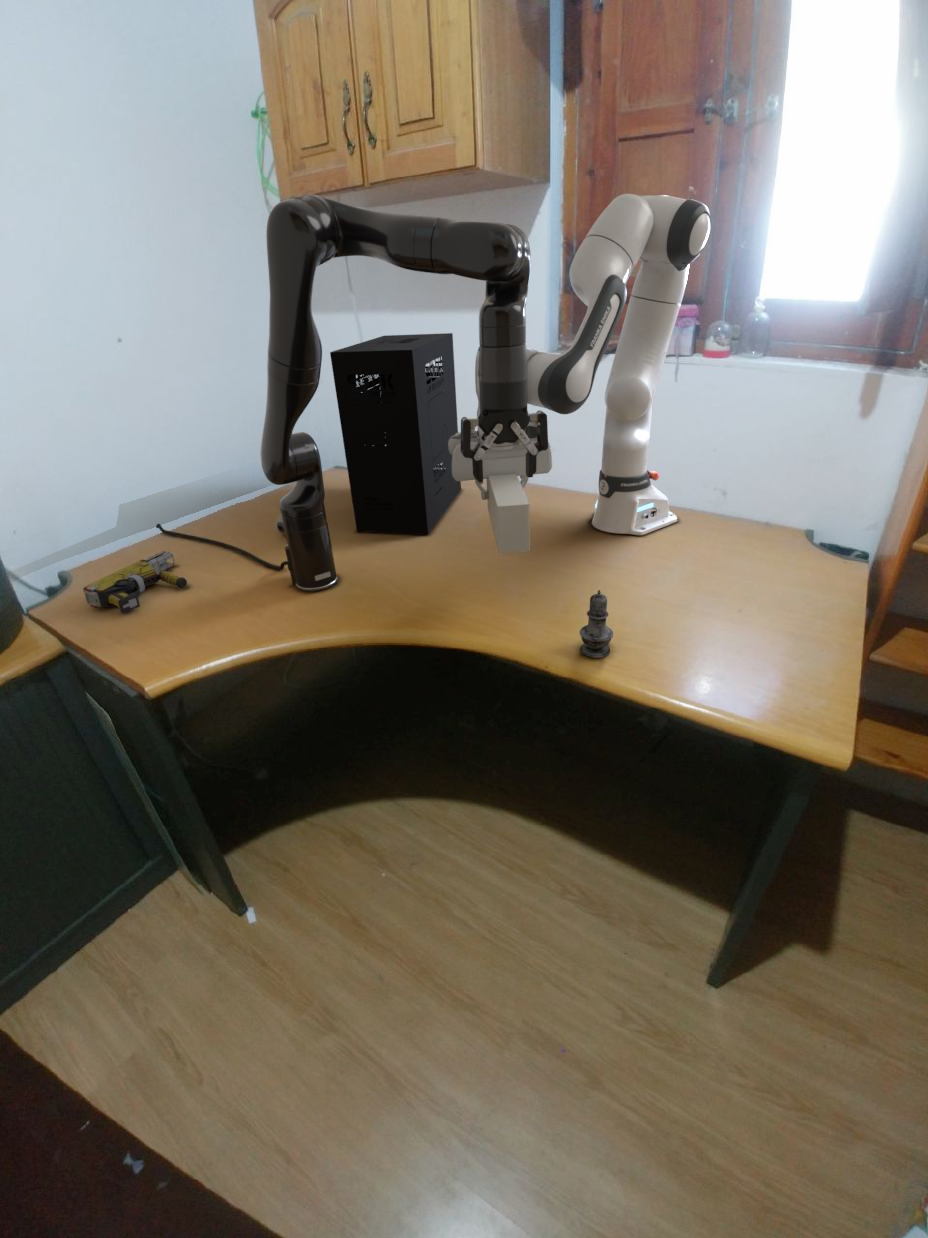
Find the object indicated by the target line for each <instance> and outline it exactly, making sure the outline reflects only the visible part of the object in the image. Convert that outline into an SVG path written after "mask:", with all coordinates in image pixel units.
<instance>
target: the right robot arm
mask: <svg viewBox="0 0 928 1238" xmlns="http://www.w3.org/2000/svg"><path fill="white" fill-rule="evenodd" d="M711 216H712V215H711V213H710V210H709V208H708V206H707V205H706V204H704V203H702V202H701V201H698V200H695V199H692V198H690V199H689V198H688V199H685V198H681V197H677V196H671V195H666V194H659V195H649V194H648V195H646V194H645V195H637V194H634V193H623V194H620V195H618V196H616V197H615V198H613V200H611V202H610V203H609V204H608V205H607V206H606V207H605V209H603V211H602V212H601V213H600V215H599V216H598V217H597V219H596V220H595V222H594V223H593V224H592V225H591V227H590V229H588V232H587V233H586V234H585V237H584V238H583V240H582V242H581V244H580V245H579V248H578V249H577V251H576V252H575V254H574V256H573V258H572V261H571V264H570V268H569V280H570V286H571V288H572V290H573V292H574V293H575V295H576V296H577V297H578V299H579V300H580V301H581V302H582V303H583V304H584V305H585V306H587V309H586V312H585V315H584V317H583V319H582V322H581V324H580V326H579V328H578V330H577V333H576V335H575V337H574V339H573V342H572V344H571V345H570V347H569V348H568V349H566V350H564V351H563V352H561V353H558V354H557V353H549V352H542V351H538V350H537V349H533V348H531V347H529V346H527V345H526V353H527V405H531V406H534V407H539V408H543V409H547V410H549V411H552V412H554V413H557V414H560V415H569V414H573V413H575V412H576V411H578V410H579V409H581V407H582V406H583V405H584V404H585V403H586V402H587V400H588V398H589V397H590V394H591V392H592V389H593V385H594V381H595V378H596V374H597V371H598V368H599V365H600V364H601V361H602V358H603V357H604V354H605V352H606V350H607V347H608V346H609V344H610V341H611V339H612V337H613V334H614V332H615V330H616V328H617V325H618V323H619V321H620V318H621V315H622V313H623V311H624V308H625V305H626V301H627V296H628V292H627V282H628V281H629V279H630V277H631V275H632V273H633V272H634V270H635V267H636V266H637V264H638V262H639V261H641V264H640V267H639V269H638V271H637V273H636V277H635V279H634V283H633V285H632V290H631V293H630V296H629V300H628V305H627V309H626V312H625V315H624V320H623V323H622V328H621V331H620V335H619V339H618V342H617V347H616V350H615V352H614V353H615V354H614V357H613V361H612V365H611V368H610V372H609V375H608V380H607V382H606V386H605V391H604V403H605V407H606V409H605V419H604V430H603V438H602V439H603V440H602V453H601V468H600V470H599V474H598V492H599V493H598V498H597V500H596V503H595V505H594V509H595V511H594V514H593V517H592V520H591V525H592V526H593V527H594V528H595V529H597V530H599V531H601V532H605V533H611V534H623V535H625V534H626V535H632V536H633V535H634V536H645V535H646V534H650V533H652V532H654V531H657V530H660V529H662V528H665V527H668V526H670V525H672V524H675V523H677V522H678V516H677V515H676V514H675V513H674V512H672V511H670V503H669V502H670V501H669V498H668V497H667V496H666V495H665V494H664V493H663V492H661V491H660V490H659V489H658V488H656V487H655V486H654V485H652V483H651V480H653V481H658V479H659V478H660V473H659V472H657V471H654V470H651V471H649V470H648V469H647V466H648V458H649V457H648V456H649V447H650V440H651V439H650V436H651V428H652V415H653V406H654V405H653V404H654V399H655V396H656V392H657V389H658V386H659V382H660V378H661V375H662V371H663V368H664V364H665V361H666V357H667V353H668V349H669V346H670V342H671V338H672V336H673V332H674V329H675V325H676V322H677V319H678V316H679V312H680V309H681V305H682V302H683V298H684V295H685V291H686V286H687V282H688V277H689V276H688V275H689V269H690V264H691V263H693V262H694V261H695V260H696V259H697V258H698V257H699V256H700V255H701V253H702V252H703V250H704V249H705V247H706V245H707V242H708V240H709V239H710V238H709V237H710V233H711V229H712V217H711ZM479 351H480V345H479V347H478V348H477V351H476V355H475V367H474V382H475V383H474V384H475V394H476V397H477V402H478V403H477V404H478V406H477V409H476V410H477V411H476V419H478V417H479V415H480V389H479V376H478V370H479ZM524 433H525V434H526V435H527V437H528V438H529V439H530V440H531V442H532V443H533V444H534V443H537V429H536V426H534V425H533V422H532V421H530V422H529V424H528V426H527V427H526V429H525V430H524ZM482 434H483V431H482V429H481V428H480V427H479V426H477V430H475V431H474V432H473V433H471V447H470V449H474V448H475V446H476V445H477V443H478V440H479V439H480V437H481V436H482ZM454 437H455V438H456V439H453V438H454ZM488 442H489V441H488ZM448 450H449V453H450V455H452V462H451V470H452V477H453V478H454V479H455V480H456V481H461V482H465V481H466V482H467V481H474V482H475V485H476V486H477V488H478V490H479V491H480V495H481V497H480V498H481V500H482V501H487V499H489V491H488V489H487V488H484V487H483V484H484V481H483V482H478V481H477V479H475V477H474V475H473V465H472V459H471V458H465V457H464V456H463V455H462V453H461V432H458V433H455V435H454V436H452V437H451V438H450V439H449V441H448ZM526 453H527V449H526V448H525V447H524V445H523V444H522V443H521V442H520V441H519V439H518V440H517V441H515V443H507V442H505V443H502V444H495V443H492V444H491V446H490V448H489V449H488V450H486V452H485V453H484V455H483V456H482V458H481V459H482V461H483V480H487V479H488V476H494V475H505V474H516V475H517V477H519V479H520V481H519V482H520V484H521V486H522V488H523V489H525V487H526V485H527V484H528V481H529V478H528V477H527V476H526ZM552 469H553V455H552V449H551V445H550V441H548V449H547V450H542V451H540V452H539V453H538V454H537V461H536V473H535V474H534V475H543V474H549V473H550V471H551V470H552Z"/></svg>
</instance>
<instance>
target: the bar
mask: <svg viewBox="0 0 928 1238" xmlns="http://www.w3.org/2000/svg"><path fill="white" fill-rule="evenodd" d="M520 482H521V481H520V478H519V476H517V475H516V474H505V475H494V476H488V479H486V489H488V491H489V499H487V500H486V501H487V511H488V515H489V519H490V523H491V527H492V531H493V535H494V538H495V544H496V547H497V552H498V554H510V553H522V552H523V553H525V552H530V550H531V535H530V534H531V530H530V529H531V527H530V526H531V525H530V524H531V523H530V522H531V519H530V515H531V514H530V513H531V512H530V502H529V500H528V497H527V495H526V494H525V490H524V488H522V486H521V484H520Z"/></svg>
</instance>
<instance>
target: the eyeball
mask: <svg viewBox="0 0 928 1238" xmlns="http://www.w3.org/2000/svg"><path fill="white" fill-rule="evenodd" d="M275 527H276V529H277V530H278V531H279V532H280V533H281V534H282V535H286V534H285V529H284V525H283V520H282V515H281V513H280V514H279V515H278V516H277V517H276V520H275Z"/></svg>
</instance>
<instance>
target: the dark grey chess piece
mask: <svg viewBox="0 0 928 1238" xmlns="http://www.w3.org/2000/svg"><path fill="white" fill-rule="evenodd" d="M607 608H608V598H607V596H606V595H605V594H603V593H602V590H600V589H599V590H597V591H596V593H595V594H592V595H590V599H589V609H588V610H587V612H586V615H587V617H588V620H587V621H588V622H587V624H586V625H584V626H582V627H581V628H579V636H580V638H581V641H582V644H581V645H580V648H579V649H580V652H581V653H582V654H583V655H585V656H587V657H589V658H594V659H597V658H604V657H607V656H609V654H610V653H611V647H610V646H609V644H610V643H611V640H612V638H614V631H613V629H611V628H610V627H609V626H607V618H608V617H609V612H608V611H607Z"/></svg>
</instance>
